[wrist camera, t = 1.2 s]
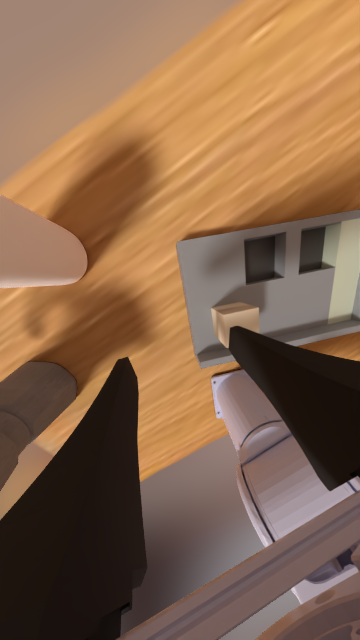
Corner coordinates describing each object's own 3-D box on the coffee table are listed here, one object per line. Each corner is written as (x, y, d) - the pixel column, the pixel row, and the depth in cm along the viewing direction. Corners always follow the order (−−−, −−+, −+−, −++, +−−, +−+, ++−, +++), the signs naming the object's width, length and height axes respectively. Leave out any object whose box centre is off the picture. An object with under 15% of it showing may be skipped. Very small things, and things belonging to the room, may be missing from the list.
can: (61, 214, 16) (-218, 34, 4) (100, 266, 18) (-16, 241, 6) (16, 246, 16) (-358, 161, 5) (59, 294, 18) (-125, 320, 6)
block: (241, 328, 20) (259, 340, 16) (214, 334, 20) (226, 348, 16) (239, 301, 19) (258, 307, 15) (211, 307, 19) (223, 315, 15)
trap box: (340, 320, 24) (373, 328, 20) (194, 353, 23) (201, 368, 19) (357, 213, 19) (405, 196, 16) (175, 245, 18) (179, 236, 14)
